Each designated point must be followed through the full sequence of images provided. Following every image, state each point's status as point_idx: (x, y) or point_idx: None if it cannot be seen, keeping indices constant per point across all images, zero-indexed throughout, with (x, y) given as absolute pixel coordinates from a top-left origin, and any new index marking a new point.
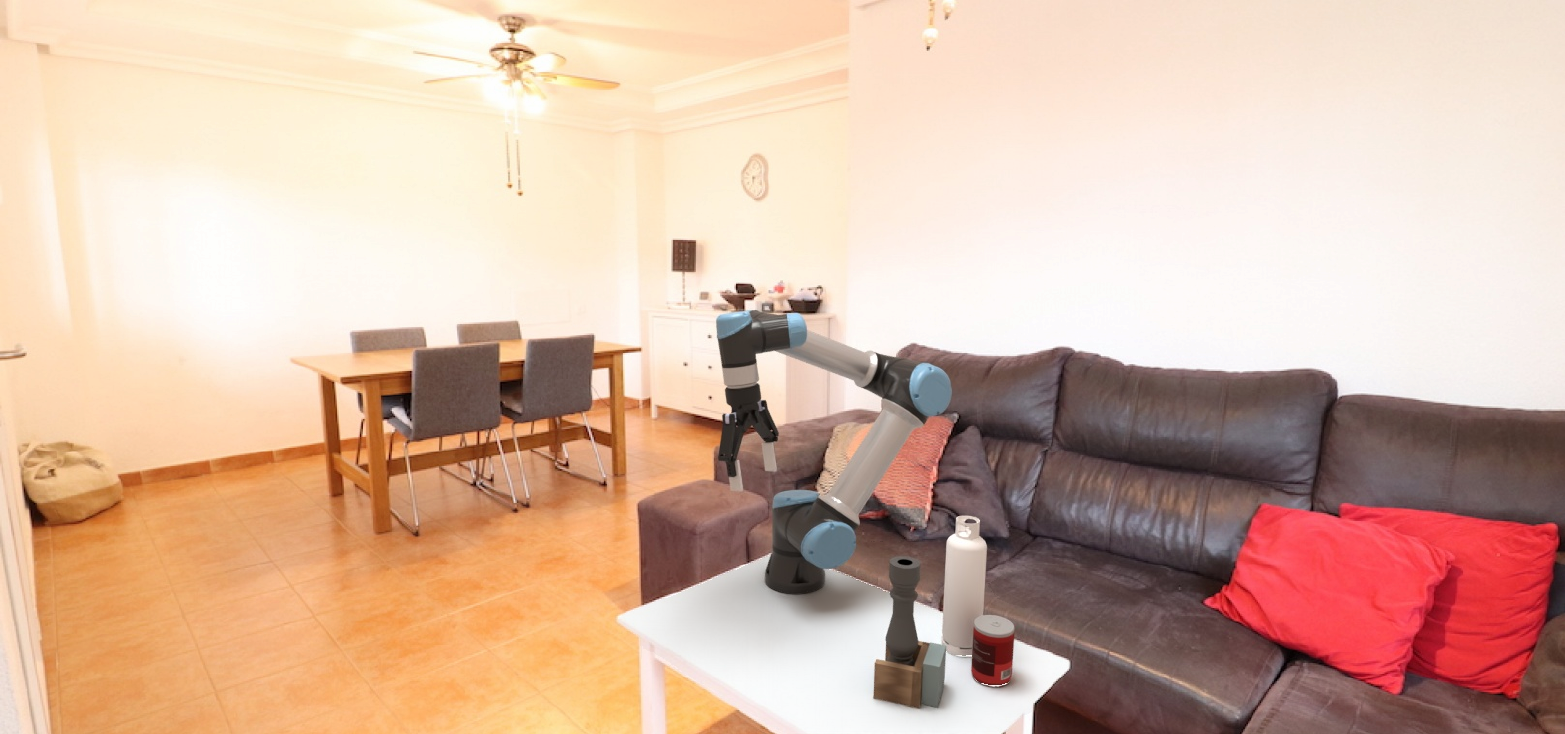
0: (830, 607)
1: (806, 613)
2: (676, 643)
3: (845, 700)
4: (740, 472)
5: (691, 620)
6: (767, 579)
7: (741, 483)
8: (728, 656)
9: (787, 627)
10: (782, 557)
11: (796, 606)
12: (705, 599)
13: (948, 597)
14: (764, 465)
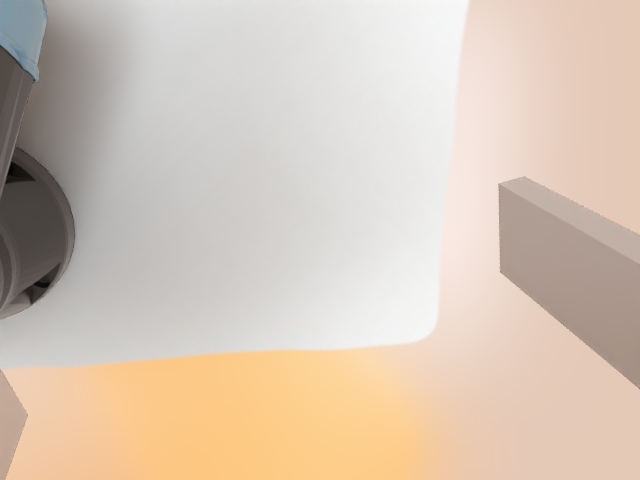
0: None
1: (94, 54)
2: (443, 182)
3: None
4: (617, 244)
5: (350, 241)
6: (66, 261)
7: (548, 201)
8: (407, 48)
9: (197, 38)
10: (10, 244)
11: (88, 106)
12: (255, 301)
13: None
14: (13, 454)
